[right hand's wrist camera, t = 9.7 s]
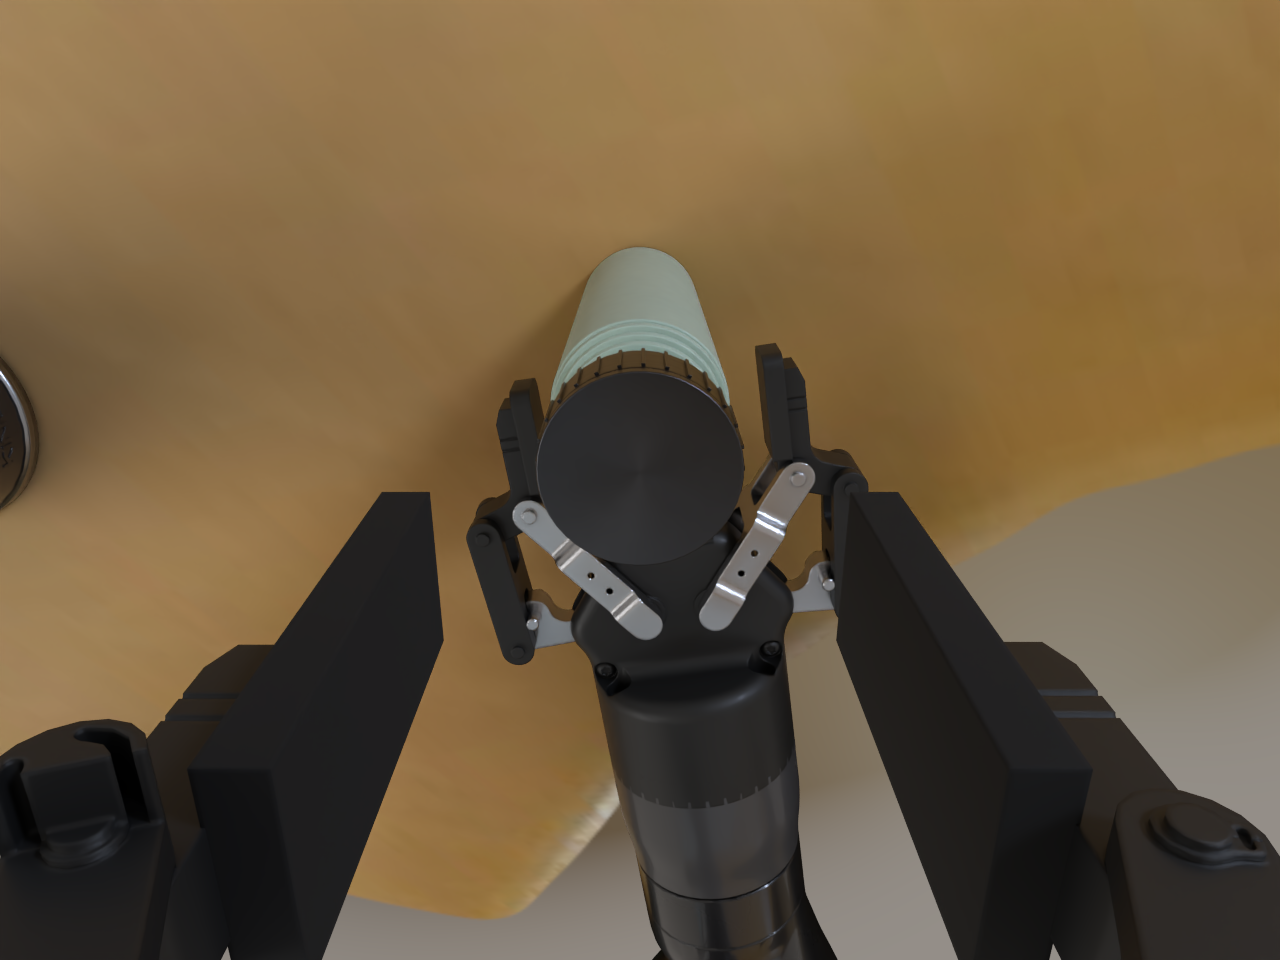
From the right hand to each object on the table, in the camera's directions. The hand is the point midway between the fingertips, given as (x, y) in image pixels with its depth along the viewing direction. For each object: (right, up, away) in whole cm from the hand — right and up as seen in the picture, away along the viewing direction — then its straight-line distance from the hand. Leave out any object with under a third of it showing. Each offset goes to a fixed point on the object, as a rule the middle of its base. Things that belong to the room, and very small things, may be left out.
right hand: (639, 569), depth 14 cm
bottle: (0, +8, +21) cm, 23 cm away
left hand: (0, +5, +16) cm, 17 cm away
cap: (0, +2, +4) cm, 5 cm away
